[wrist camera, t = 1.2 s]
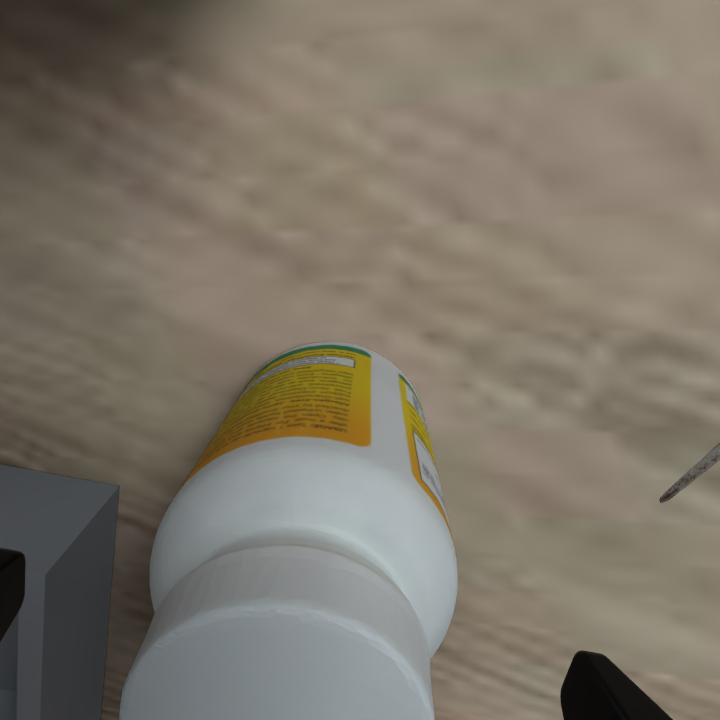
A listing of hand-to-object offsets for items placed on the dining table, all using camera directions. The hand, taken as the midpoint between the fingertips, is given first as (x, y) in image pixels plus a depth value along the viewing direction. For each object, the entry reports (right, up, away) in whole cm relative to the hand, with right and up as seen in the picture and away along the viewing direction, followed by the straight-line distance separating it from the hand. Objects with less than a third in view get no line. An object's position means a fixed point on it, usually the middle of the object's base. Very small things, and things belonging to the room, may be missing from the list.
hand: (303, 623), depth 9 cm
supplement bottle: (0, +2, +7) cm, 8 cm away
